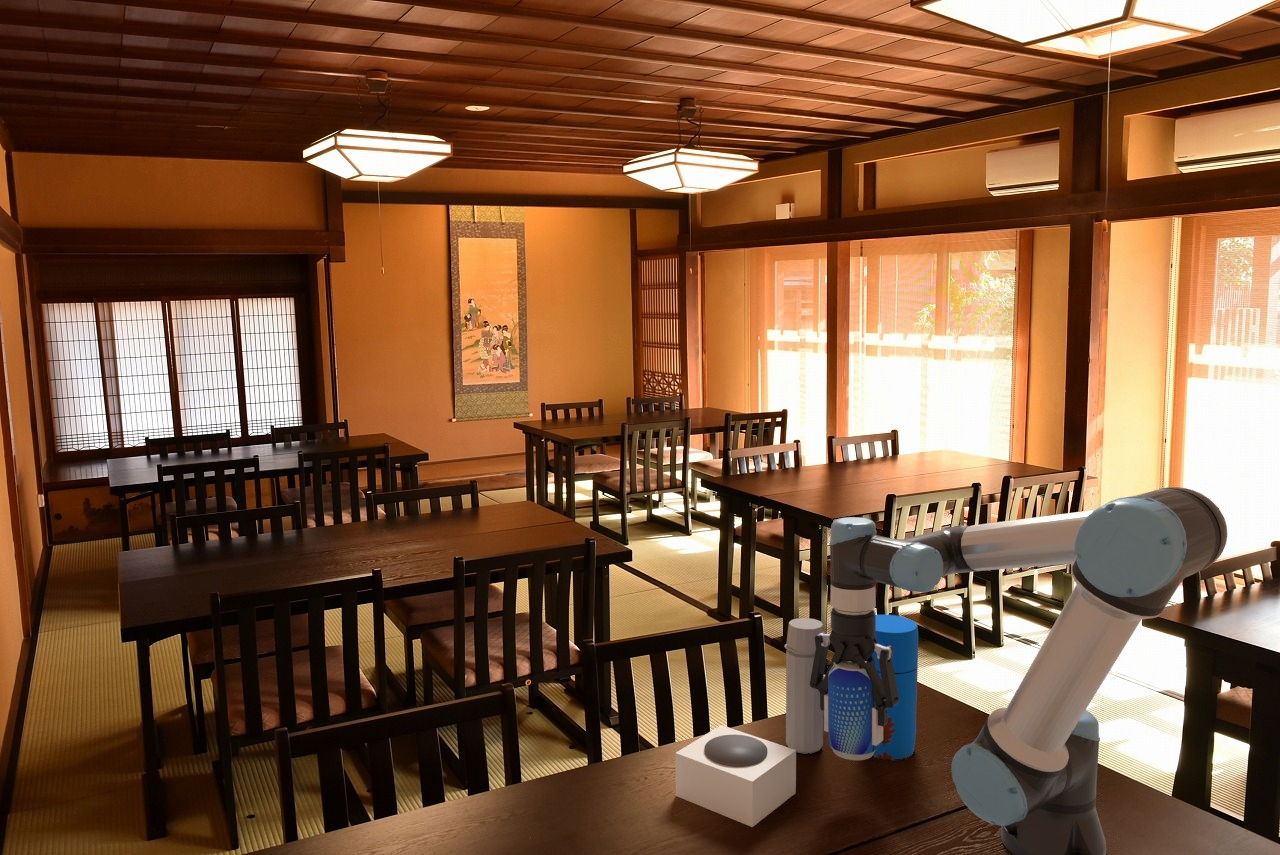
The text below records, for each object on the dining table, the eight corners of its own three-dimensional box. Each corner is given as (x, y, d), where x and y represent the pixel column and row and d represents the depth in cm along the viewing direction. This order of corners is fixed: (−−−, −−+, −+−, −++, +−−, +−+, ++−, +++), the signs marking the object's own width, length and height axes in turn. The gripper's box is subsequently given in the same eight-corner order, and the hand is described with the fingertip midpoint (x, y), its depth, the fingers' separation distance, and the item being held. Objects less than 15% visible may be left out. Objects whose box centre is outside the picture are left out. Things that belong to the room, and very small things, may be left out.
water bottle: (824, 757, 176) (826, 631, 173) (783, 754, 177) (783, 628, 174) (824, 735, 185) (826, 615, 182) (785, 732, 186) (785, 613, 183)
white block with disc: (795, 792, 163) (796, 747, 162) (752, 827, 152) (752, 778, 151) (721, 765, 173) (721, 722, 172) (675, 795, 163) (675, 750, 162)
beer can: (822, 756, 158) (822, 667, 157) (836, 737, 166) (836, 651, 164) (871, 766, 155) (871, 674, 153) (883, 745, 162) (883, 657, 160)
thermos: (856, 756, 176) (858, 630, 173) (859, 731, 186) (861, 612, 183) (915, 763, 173) (918, 635, 170) (915, 738, 183) (918, 617, 180)
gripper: (921, 613, 154) (920, 744, 156) (809, 593, 167) (810, 713, 169) (902, 625, 148) (901, 760, 150) (787, 603, 161) (789, 727, 164)
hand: (853, 735), depth 160 cm, fingers closed on beer can, 8 cm apart
